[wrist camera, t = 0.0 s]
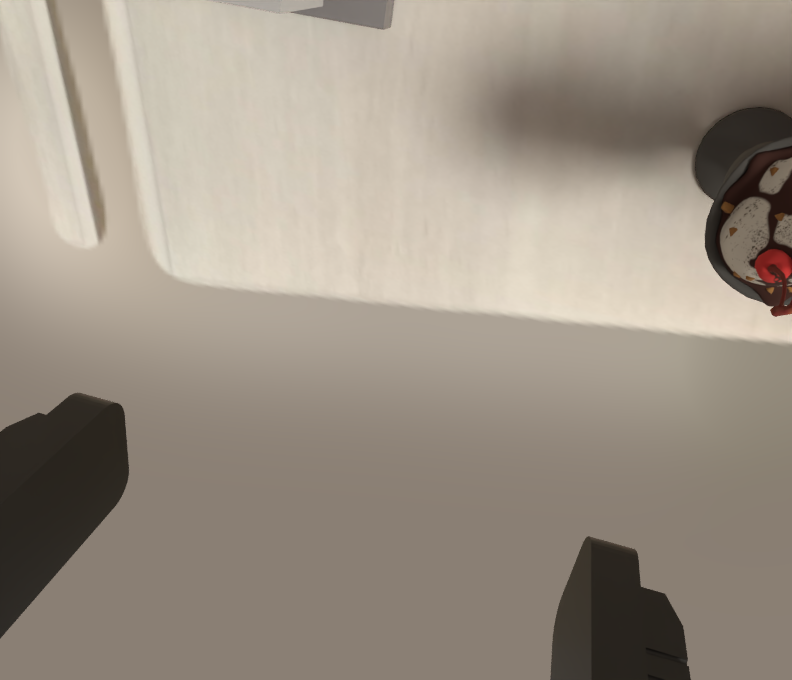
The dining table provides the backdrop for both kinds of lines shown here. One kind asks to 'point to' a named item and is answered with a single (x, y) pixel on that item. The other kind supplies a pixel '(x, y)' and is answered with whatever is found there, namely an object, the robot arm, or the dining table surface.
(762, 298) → the sundae
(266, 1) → the valve stand
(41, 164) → the dining table surface
